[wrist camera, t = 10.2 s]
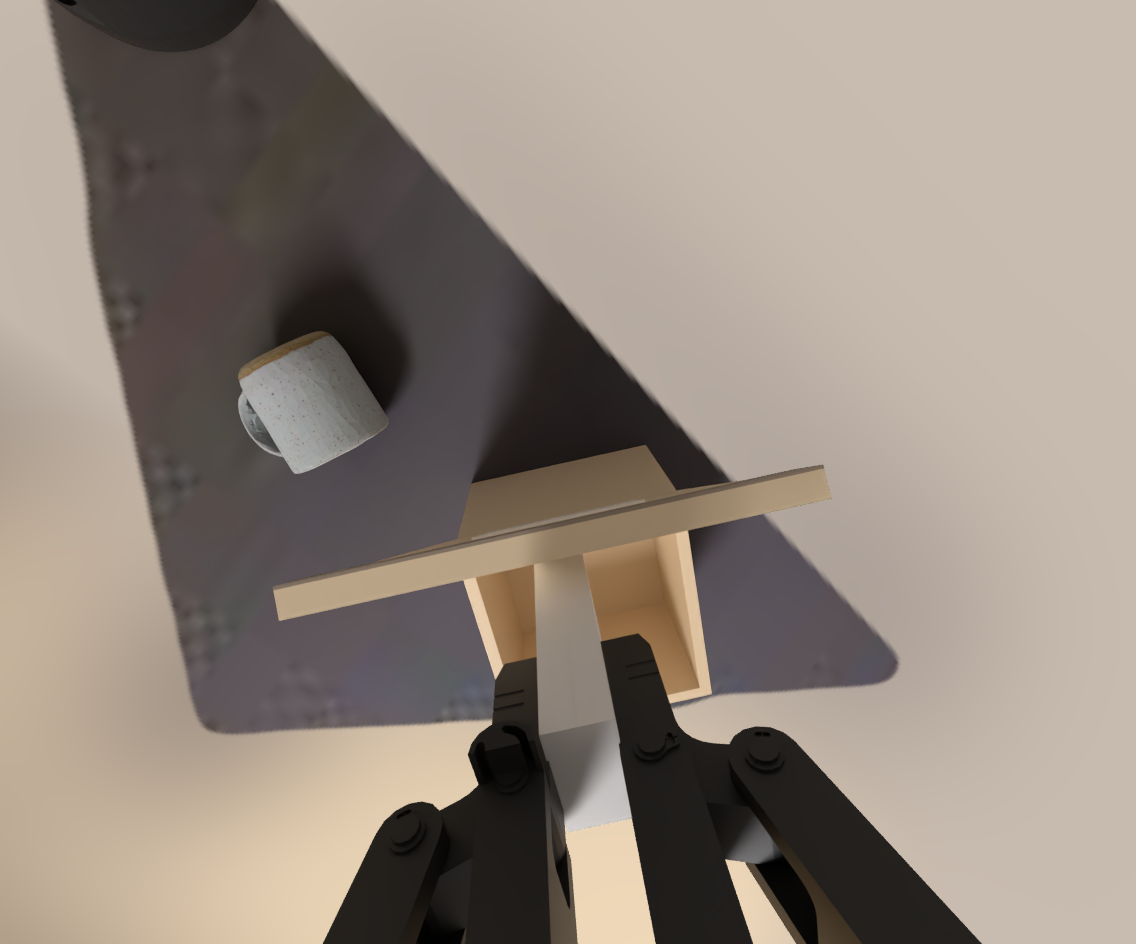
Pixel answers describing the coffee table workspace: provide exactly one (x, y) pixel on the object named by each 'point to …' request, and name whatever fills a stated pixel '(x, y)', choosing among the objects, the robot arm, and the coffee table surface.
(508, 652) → the carton
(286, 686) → the coffee table surface
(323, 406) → the ceramic mug
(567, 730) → the robot arm
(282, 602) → the carton lid
